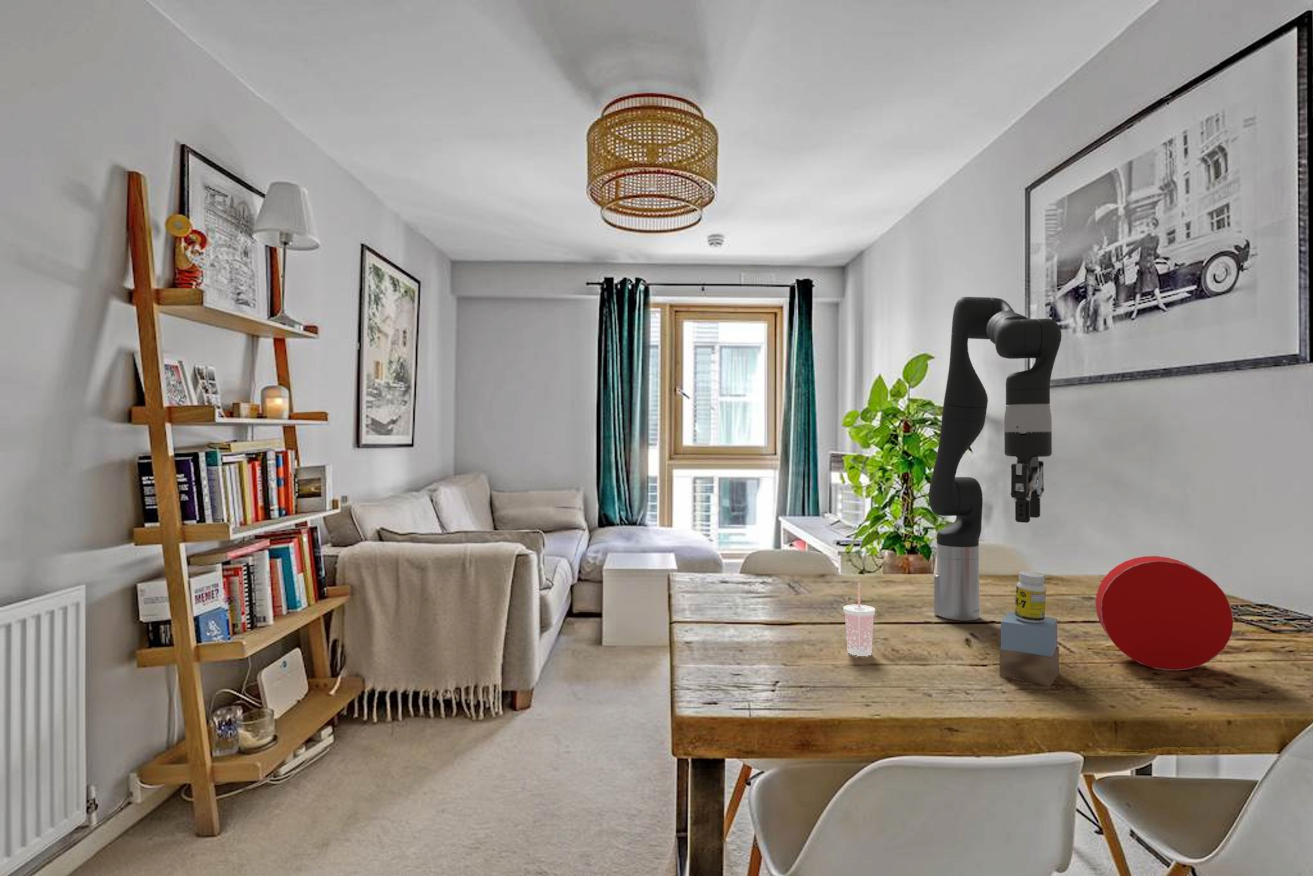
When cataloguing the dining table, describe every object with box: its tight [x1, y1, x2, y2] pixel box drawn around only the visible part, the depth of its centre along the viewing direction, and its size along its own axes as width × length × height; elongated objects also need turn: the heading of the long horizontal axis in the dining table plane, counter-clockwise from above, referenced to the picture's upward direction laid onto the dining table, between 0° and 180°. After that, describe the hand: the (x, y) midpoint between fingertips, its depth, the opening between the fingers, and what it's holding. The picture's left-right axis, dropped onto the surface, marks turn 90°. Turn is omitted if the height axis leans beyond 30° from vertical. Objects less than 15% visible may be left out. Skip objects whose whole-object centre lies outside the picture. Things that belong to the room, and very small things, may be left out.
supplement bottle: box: [1014, 570, 1047, 623], centre depth 124 cm, size 5×5×8 cm
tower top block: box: [1000, 611, 1058, 657], centre depth 125 cm, size 8×8×5 cm
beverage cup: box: [842, 582, 876, 657], centre depth 137 cm, size 6×6×14 cm
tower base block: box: [998, 645, 1060, 687], centre depth 124 cm, size 8×8×5 cm
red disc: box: [1095, 555, 1234, 671], centre depth 129 cm, size 20×6×20 cm, turn 66°
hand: (1028, 519), depth 124 cm, fingers open, 8 cm apart
